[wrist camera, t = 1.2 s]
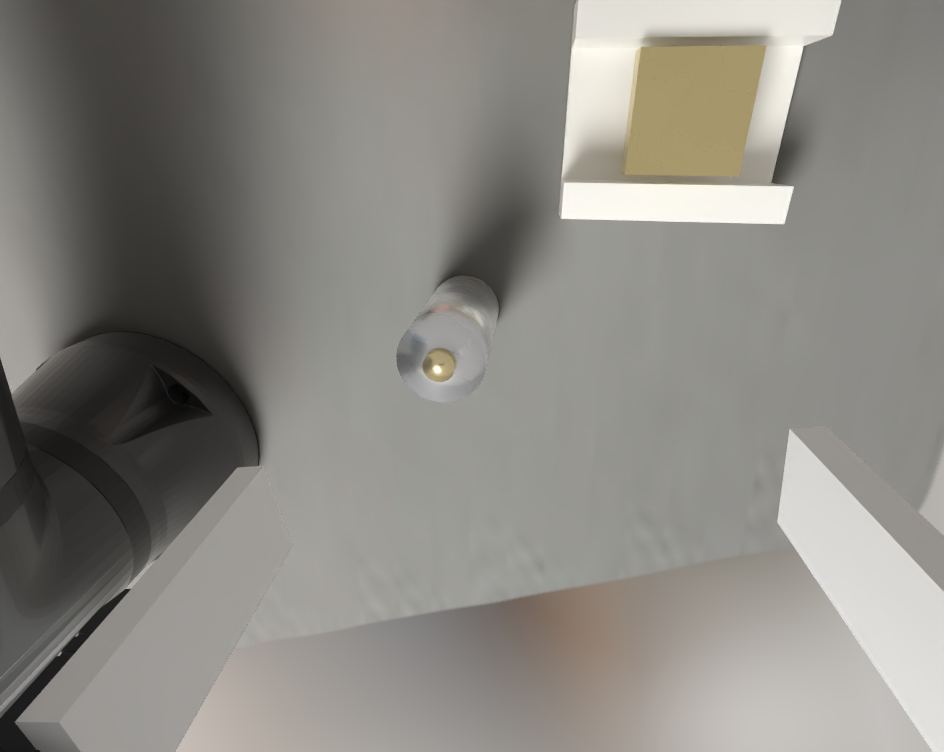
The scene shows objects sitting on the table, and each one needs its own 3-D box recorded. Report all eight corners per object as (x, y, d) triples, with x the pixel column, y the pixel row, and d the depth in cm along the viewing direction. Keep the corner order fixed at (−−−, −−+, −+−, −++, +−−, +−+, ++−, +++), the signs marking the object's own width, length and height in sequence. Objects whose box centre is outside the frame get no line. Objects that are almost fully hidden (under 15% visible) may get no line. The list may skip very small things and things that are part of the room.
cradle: (558, 213, 27) (561, 221, 24) (574, 6, 23) (579, -13, 20) (757, 217, 26) (783, 226, 23) (808, 2, 22) (846, -18, 19)
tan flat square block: (621, 173, 23) (625, 174, 22) (635, 51, 21) (641, 46, 20) (729, 175, 23) (738, 176, 22) (755, 50, 21) (766, 45, 20)
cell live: (431, 339, 31) (395, 405, 23) (430, 274, 29) (390, 321, 21) (497, 343, 30) (483, 411, 22) (499, 276, 29) (485, 325, 21)
